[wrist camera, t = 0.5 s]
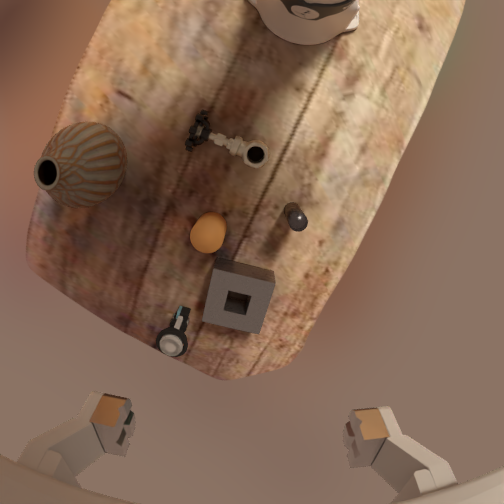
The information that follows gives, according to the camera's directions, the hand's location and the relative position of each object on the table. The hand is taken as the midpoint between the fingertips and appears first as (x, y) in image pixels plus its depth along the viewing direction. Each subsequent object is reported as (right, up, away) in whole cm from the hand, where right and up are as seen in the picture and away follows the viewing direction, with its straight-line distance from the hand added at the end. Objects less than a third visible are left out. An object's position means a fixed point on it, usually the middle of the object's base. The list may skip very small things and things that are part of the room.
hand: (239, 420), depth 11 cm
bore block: (-2, -1, +47) cm, 47 cm away
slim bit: (+7, +13, +42) cm, 44 cm away
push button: (-13, -6, +49) cm, 51 cm away
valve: (-3, +23, +39) cm, 45 cm away
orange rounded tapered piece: (-6, +10, +43) cm, 45 cm away
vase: (-25, +22, +39) cm, 51 cm away
